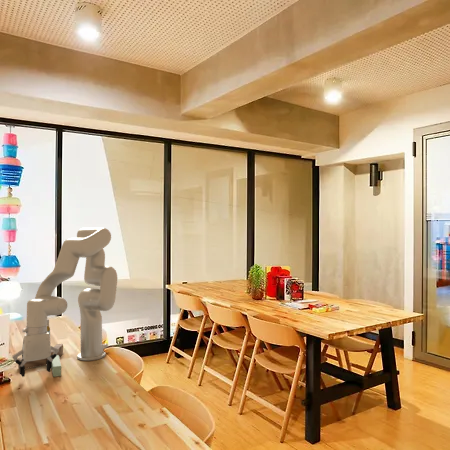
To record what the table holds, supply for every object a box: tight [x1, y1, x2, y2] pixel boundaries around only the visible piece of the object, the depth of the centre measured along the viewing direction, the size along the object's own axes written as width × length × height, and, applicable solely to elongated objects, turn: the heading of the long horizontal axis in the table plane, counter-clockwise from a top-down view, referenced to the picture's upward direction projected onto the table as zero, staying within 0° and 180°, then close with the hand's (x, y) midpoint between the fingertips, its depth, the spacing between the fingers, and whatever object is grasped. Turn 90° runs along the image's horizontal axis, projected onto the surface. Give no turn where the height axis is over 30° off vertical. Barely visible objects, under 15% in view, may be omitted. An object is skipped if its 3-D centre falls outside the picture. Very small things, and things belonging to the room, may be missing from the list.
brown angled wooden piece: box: [17, 343, 64, 371], centre depth 185 cm, size 25×11×5 cm, turn 158°
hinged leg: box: [51, 355, 62, 378], centre depth 174 cm, size 16×3×5 cm, turn 26°
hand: (35, 373), depth 165 cm, fingers open, 9 cm apart
